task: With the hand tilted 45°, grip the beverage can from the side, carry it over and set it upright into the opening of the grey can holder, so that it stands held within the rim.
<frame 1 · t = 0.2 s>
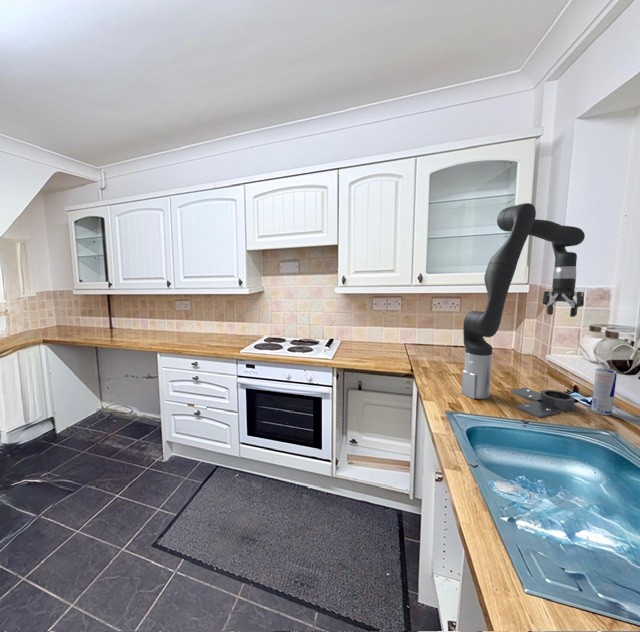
hand: (561, 315, 126), 29 cm above the worktop, tool pointing down, fingers open, 8 cm apart
grey can holder: (556, 405, 105), on the worktop
beverage can: (601, 413, 99), on the worktop
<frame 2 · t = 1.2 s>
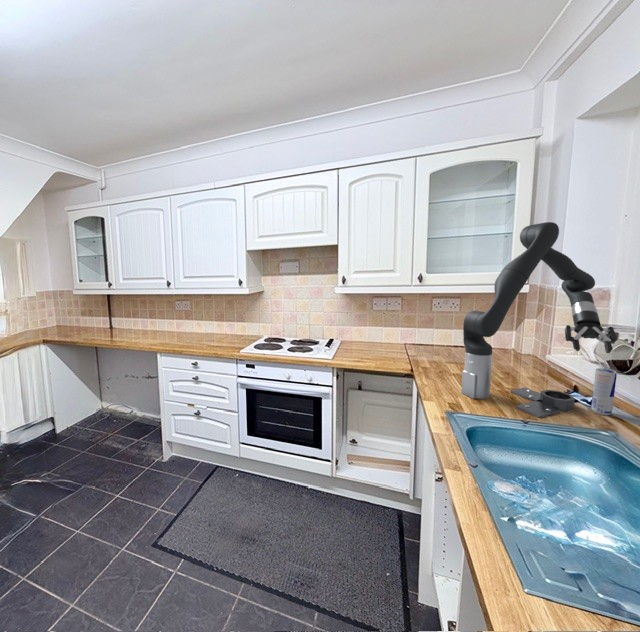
hand: (593, 351, 107), 18 cm above the worktop, tool tilted 45°, fingers open, 8 cm apart
nothing on the worktop moved.
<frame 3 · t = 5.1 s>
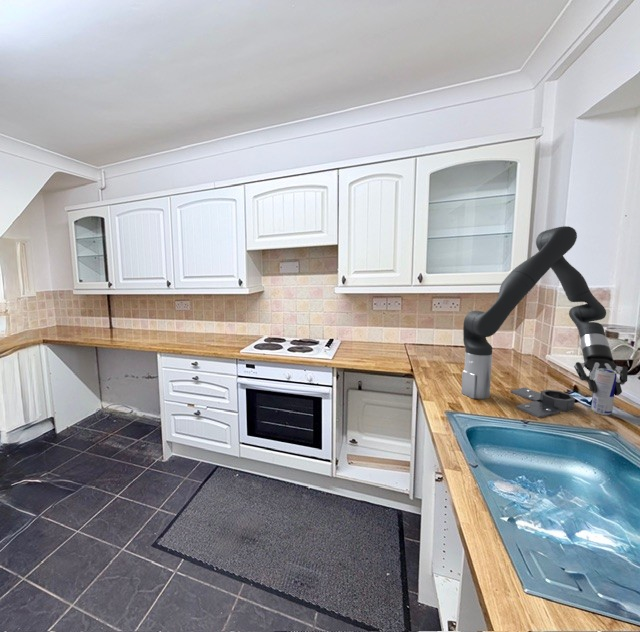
hand: (606, 393, 97), 8 cm above the worktop, tool tilted 45°, fingers closed on beverage can, 5 cm apart
beverage can: (601, 413, 99), on the worktop, touching gripper
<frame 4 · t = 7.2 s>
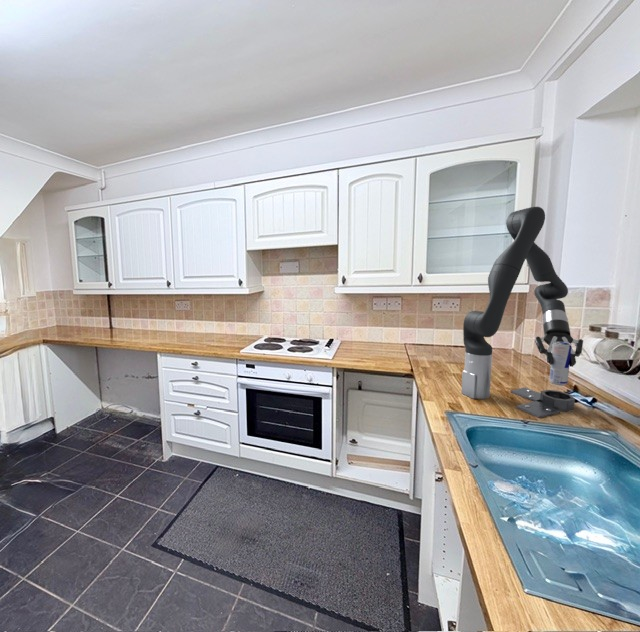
hand: (561, 364, 101), 16 cm above the worktop, tool tilted 45°, fingers closed on beverage can, 5 cm apart
beverage can: (557, 384, 104), point 8 cm above the worktop, touching gripper
when the fingers open (9 cm above the worktop, at t = 9.6 s): beverage can drops 1 cm, resting in grey can holder.
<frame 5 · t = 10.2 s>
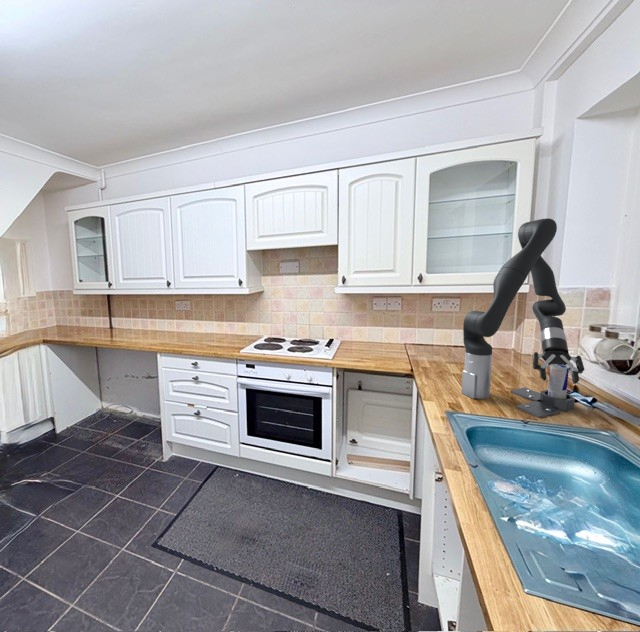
hand: (559, 381, 103), 10 cm above the worktop, tool tilted 45°, fingers open, 8 cm apart
beverage can: (555, 405, 106), resting in grey can holder
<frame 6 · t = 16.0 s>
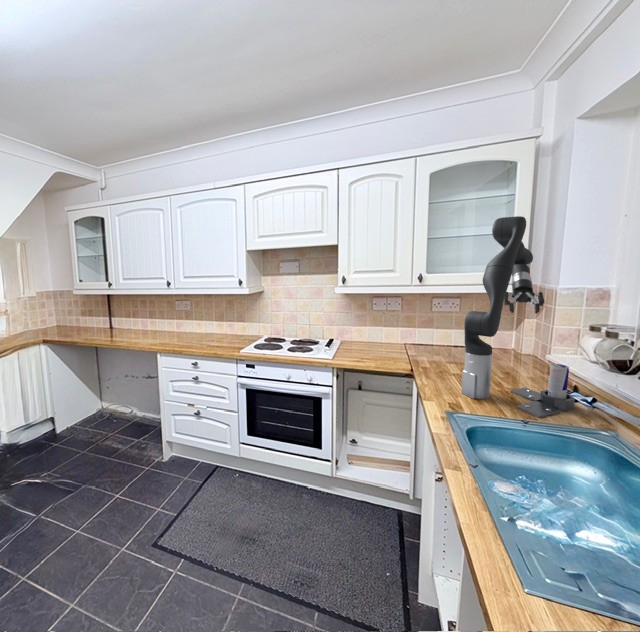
hand: (524, 312, 125), 31 cm above the worktop, tool tilted 45°, fingers open, 8 cm apart
nothing on the worktop moved.
at the end: beverage can 0.3 cm from the grey can holder (horizontally); beverage can tilted 0°; the gripper is holding nothing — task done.
